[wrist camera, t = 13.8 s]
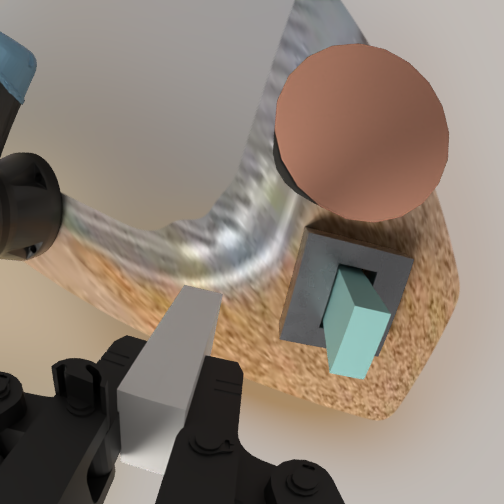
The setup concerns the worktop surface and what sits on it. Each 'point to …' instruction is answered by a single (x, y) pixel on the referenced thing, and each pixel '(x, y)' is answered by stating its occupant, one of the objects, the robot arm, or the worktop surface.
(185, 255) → the worktop surface
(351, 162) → the coffee jar
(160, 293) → the worktop surface
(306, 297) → the block
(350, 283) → the keyed peg
